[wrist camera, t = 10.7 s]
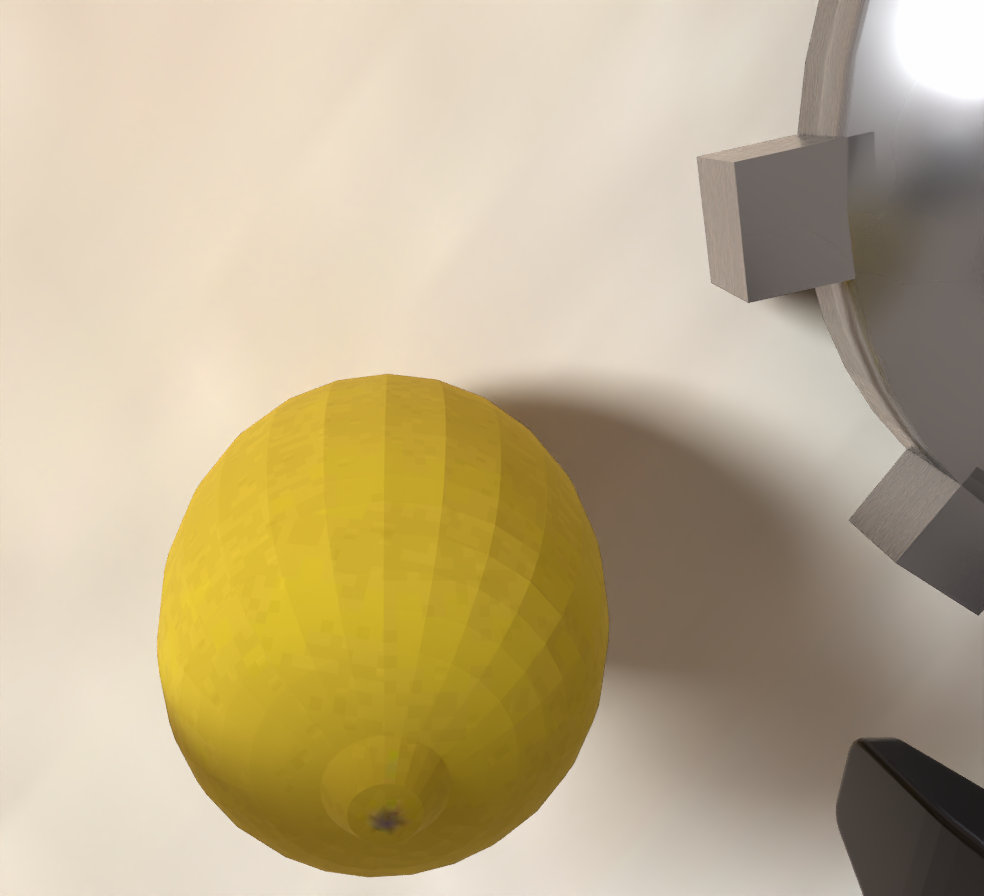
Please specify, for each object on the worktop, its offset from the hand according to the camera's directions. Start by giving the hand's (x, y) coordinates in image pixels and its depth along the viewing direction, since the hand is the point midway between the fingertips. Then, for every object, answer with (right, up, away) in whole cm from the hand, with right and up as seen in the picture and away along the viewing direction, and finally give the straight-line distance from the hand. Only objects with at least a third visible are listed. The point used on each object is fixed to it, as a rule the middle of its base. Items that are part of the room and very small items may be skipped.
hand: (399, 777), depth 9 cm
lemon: (-1, +3, +7) cm, 8 cm away
